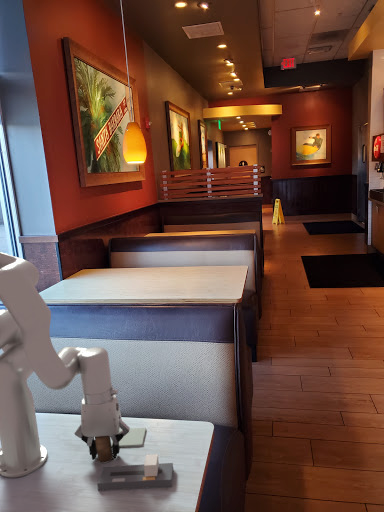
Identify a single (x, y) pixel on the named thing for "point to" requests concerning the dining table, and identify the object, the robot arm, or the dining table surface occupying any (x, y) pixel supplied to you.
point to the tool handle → (104, 448)
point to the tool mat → (132, 438)
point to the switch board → (134, 477)
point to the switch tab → (151, 465)
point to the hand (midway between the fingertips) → (105, 455)
